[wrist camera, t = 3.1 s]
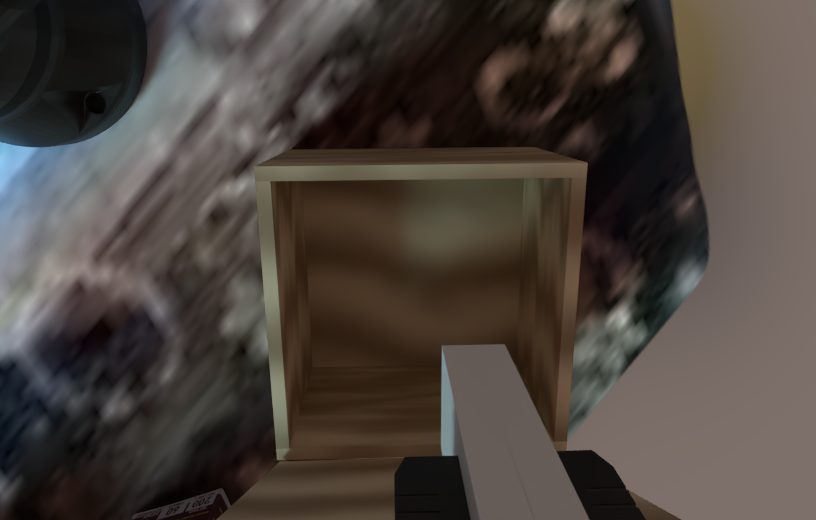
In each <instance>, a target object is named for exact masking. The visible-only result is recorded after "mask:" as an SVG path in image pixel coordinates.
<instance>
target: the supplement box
mask: <svg viewBox="0 0 816 520" xmlns="http://www.w3.org/2000/svg"><path fill="white" fill-rule="evenodd" d="M230 507H231V505H230V503H229V500H228V498H227V496H226V494H225V492H224V490H223V489H222V488H220V489H217V490H214V491H211V492H209V493H205V494H202V495H199V496H196V497H192V498H189V499H186V500H183V501H180V502H176V503H173V504H170V505H166V506H163V507H159V508H156V509H152V510H148V511H145V512H140V513H137V514H135V515H134V516H133V517H132V519H131V520H217V519H218V518H219V517H220V516H221V515H222V514H223V513H224V512H225V511H226V510H227V509H228V508H230Z"/></svg>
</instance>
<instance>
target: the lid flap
mask: <svg viewBox="0 0 816 520" xmlns="http://www.w3.org/2000/svg"><path fill="white" fill-rule="evenodd" d="M403 459H404V458H391V459H353V460H315V461H280V462H279V463H277V464H276V465H275V466H274V467H273V468H272V469H271V470H270V471H269V472H268V473H267V474H265V475H264V476H263V477H262V478H261V479H260V480H259V481H258V482H257V483H256V484H255V485H254V486H252V487H251V488H250V489H249V490H248V491H247V492H246V493H245V494H244V495H243V496H242V497H240V498H239V499H238V500H237V501H236V502H235V503H234V504H233V505H232V506H231V507H230V508H228V509H227V510H226V511H225V512H224V513H223V514H222V515H221V516H220V517H219V518H218V519H217V520H395V497H394V474H395V472H396V471H397V469H398V467H399V466H400V464H401V463H402V461H403ZM626 490H627V489H626ZM628 491H629V490H628ZM629 493H630V495H631V496H632V498H633V499H634V501H635V503H636V507H639V509H640V511H641V512H642V514H643V516H644V517H645V519H646V520H681V519H679V518H677V517H675V516H674V515H672V514H670V513H668V512H666V511H665V510H663V509H661V508H659V507H658V506H656V505H654V504H652V503H650V502H649V501H647V500H645V499H643V498H641V497H640V496H638V495H636V494H634V493H633V492H631V491H629Z"/></svg>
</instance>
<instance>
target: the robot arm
mask: <svg viewBox="0 0 816 520" xmlns="http://www.w3.org/2000/svg"><path fill="white" fill-rule="evenodd" d="M146 58H147V39H146V30H145V24H144V19H143V15H142V12H141V9H140V6H139V3H138V0H0V142H3V143H7V144H11V145H17V146H25V147H51V146H59V145H67V144H73V143H78V142H81V141H84V140H87V139H90V138H92V137H94V136H96V135H98V134H100V133H102V132H103V131H105V130H106V129H108V128H109V127H111V126H112V125H113V124H114V123H115V122H117V121H118V120H119V119H120V118H121V117H122V115H123V114H124V113H125V112H126V111H127V109H128V108H129V106H130V105H131V104H132V102H133V100H134V98H135V97H136V95H137V92H138V90H139V88H140V85H141V82H142V79H143V76H144V71H145V66H146ZM441 450H442V456H418V457H405V458H404V459H403V461H402V463H401V464H400V466H399V467H398V469H397V471H396V472H395V474H394V497H395V520H646V519H645V517H644V516H643V514H642V512H641V511H640V509H639V507H636V503H635V501H634V499H633V498H632V496H631V495H630V493H629V491H628V490H626V486H625V485H624V483H623V482H622V480H621V478H620V477H619V475H618V474H617V472H616V471H615V469H614V467H613V466H612V465H610V464H609V463H608V462H606V461H605V460H604V459H603V458H601V457H600V456H599V455H597V454H596V453H595V452H594V451H592V450H583V451H581V450H580V451H556V449H555V447H554V445H553V443H552V441H551V439H550V437H549V435H548V433H547V431H546V429H545V427H544V425H543V423H542V420H541V418H540V416H539V414H538V412H537V410H536V408H535V406H534V404H533V402H532V400H531V398H530V396H529V394H528V391H527V389H526V387H525V385H524V383H523V381H522V379H521V377H520V375H519V373H518V371H517V369H516V367H515V365H514V362H513V360H512V358H511V356H510V354H509V352H508V350H507V348H506V346H505V344H490V345H442V385H441Z"/></svg>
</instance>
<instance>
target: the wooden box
mask: <svg viewBox="0 0 816 520" xmlns="http://www.w3.org/2000/svg"><path fill="white" fill-rule="evenodd" d="M587 165H588V163H587V162H583V161H580V160H576V159H573V158H570V157H566V156H563V155H559V154H556V153H553V152H549V151H546V150H543V149H539V148H536V147H470V148H371V149H291V150H288V151H286V152H284V153H282V154H280V155H278V156H276V157H273V158H271V159H269V160H267V161H265V162H263V163H261V164H258V165H256V166H254V171H255V184H256V197H257V209H258V222H259V235H260V248H261V261H262V273H263V286H264V299H265V312H266V325H267V338H268V350H269V363H270V376H271V389H272V402H273V415H274V427H275V440H276V453H277V460H306V459H344V458H382V457H418V456H442V450H441V385H442V345H490V344H505V346H506V348H507V350H508V352H509V354H510V356H511V358H512V360H513V362H514V365H515V367H516V369H517V371H518V373H519V375H520V377H521V379H522V381H523V383H524V385H525V387H526V389H527V391H528V394H529V396H530V398H531V400H532V402H533V404H534V406H535V408H536V410H537V412H538V414H539V416H540V418H541V420H542V423H543V425H544V427H545V429H546V431H547V433H548V435H549V437H550V439H551V441H552V443H553V445H554V447H555V449H556V451H566V446H567V432H568V419H569V406H570V392H571V379H572V366H573V352H574V339H575V325H576V312H577V299H578V285H579V272H580V259H581V245H582V232H583V218H584V205H585V192H586V178H587Z"/></svg>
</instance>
